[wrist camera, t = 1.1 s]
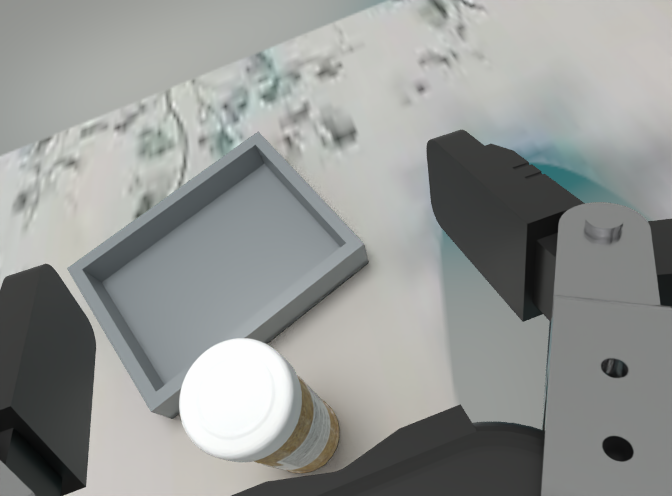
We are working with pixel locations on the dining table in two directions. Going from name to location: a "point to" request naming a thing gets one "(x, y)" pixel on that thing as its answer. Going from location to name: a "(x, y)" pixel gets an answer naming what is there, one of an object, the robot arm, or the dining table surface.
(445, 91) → the dining table surface
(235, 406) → the sprinkles bottle
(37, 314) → the robot arm
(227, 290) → the box
